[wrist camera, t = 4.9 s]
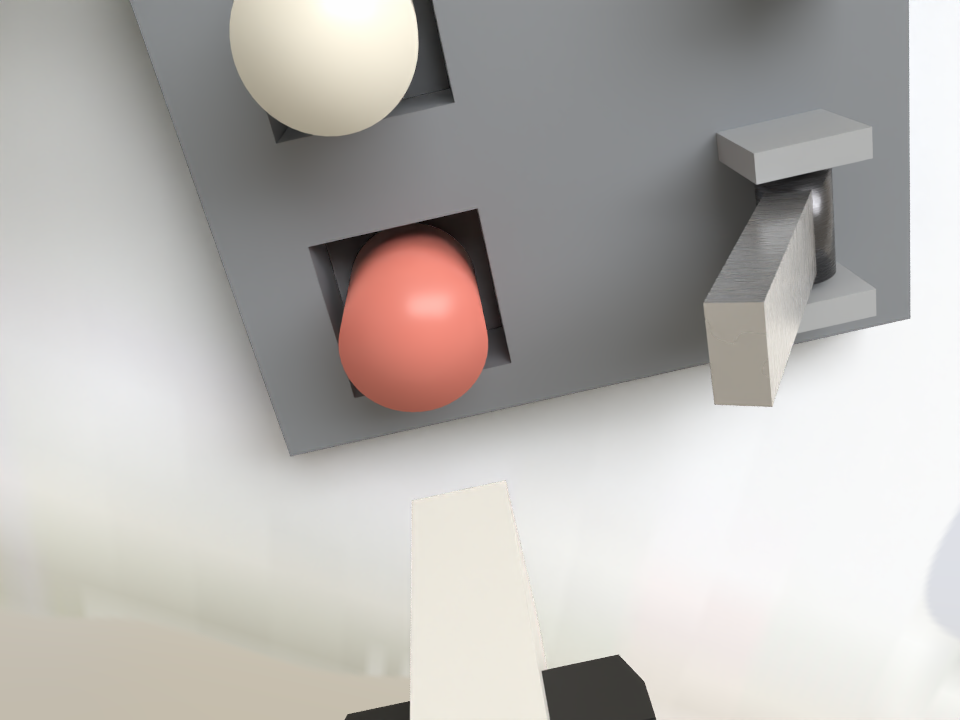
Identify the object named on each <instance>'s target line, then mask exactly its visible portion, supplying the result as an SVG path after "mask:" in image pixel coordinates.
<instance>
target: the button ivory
mask: <svg viewBox="0 0 960 720" xmlns="http://www.w3.org/2000/svg"><path fill="white" fill-rule="evenodd" d="M230 45H231V51H232V55H233V59H234V63H235V66H236V68H237V71H238V74H239V76H240V78H241V80H242V82H243V83H244V85H245V87H246V88H247V90H248V91H249V93H250V94H251V96H252V97H253V98H254V99H255V101H256V102H257V103H258V104H259V105H260V106H261V107H262V108H263V109H264V110H265V111H266V112H267V113H269V114H270V115H271V116H272V117H274V118H275V119H277V120H278V121H280V122H281V123H283V124H285V125H287V126H289V127H291V128H293V129H295V130H298V131H301V132H304V133H308V134H312V135H318V136H342V135H348V134H352V133H356V132H359V131H362V130H364V129H366V128H369V127H371V126H373V125H374V124H376V123H377V122H379V121H380V120H382V119H383V118H384V117H385V116H387V115H388V114H389V113H390V112H391V111H392V110H393V109H394V108H395V107H396V106H397V105H398V103H399V102H400V100H401V99H402V98H403V96H404V95H405V93H406V91H407V89H408V87H409V85H410V83H411V81H412V78H413V75H414V72H415V68H416V63H417V58H418V47H419V45H418V28H417V19H416V13H415V8H414V4H413V1H412V0H234V3H233V6H232V10H231V17H230Z"/></svg>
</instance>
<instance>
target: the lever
mask: <svg viewBox="0 0 960 720" xmlns="http://www.w3.org/2000/svg"><path fill="white" fill-rule="evenodd" d="M754 188H755V200H756V209H755V211H754V212H753V214H752V216H751V218H750V220H749V221H748V223H747V225H746V227H745V229H744V230H743V232H742V234H741V236H740V238H739V239H738V241H737V243H736V245H735V247H734V248H733V250H732V252H731V254H730V256H729V257H728V259H727V261H726V263H725V265H724V267H723V268H722V270H721V272H720V274H719V276H718V277H717V279H716V281H715V283H714V285H713V286H712V288H711V290H710V292H709V294H708V295H707V297H706V299H705V301H704V303H703V306H704V315H705V324H706V332H707V341H708V350H709V359H710V368H711V377H712V386H713V395H714V404H715V405H739V406H765V407H772V406H773V403H774V400H775V397H776V394H777V391H778V388H779V385H780V382H781V379H782V376H783V373H784V370H785V367H786V364H787V361H788V358H789V355H790V352H791V349H792V346H793V343H794V340H795V337H796V334H797V331H798V328H799V325H800V322H801V319H802V316H803V313H804V310H805V307H806V304H807V301H808V298H809V295H810V292H811V289H812V286H813V285H814V284H818V283H821V282H824V281H826V280H828V279H830V278H831V277H833V276H834V275H835V273H836V252H835V229H834V205H833V182H832V168H828V169H823V170H819V171H814V172H810V173H806V174H801V175H797V176H792V177H788V178H784V179H779V180H775V181H770V182H766V183H762V184H757V185H756V184H755V183H754Z"/></svg>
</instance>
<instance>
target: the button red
mask: <svg viewBox="0 0 960 720" xmlns="http://www.w3.org/2000/svg"><path fill="white" fill-rule="evenodd" d="M338 345H339V354H340V359H341V363H342V365H343V368H344V370H345V372H346V374H347V376H348V378H349V379H350V381H351V382H352V383H353V385H354V386H355V387H356V388H357V389H358V390H359V391H360V392H361V393H362V394H363V395H365V396H366V397H367V398H369V399H370V400H372V401H373V402H375V403H377V404H379V405H381V406H384V407H386V408H390V409H393V410H397V411H403V412H423V411H430V410H434V409H437V408H441V407H443V406H445V405H448V404H450V403H451V402H453V401H455V400H457V399H458V398H459V397H461V396H462V395H463V394H465V393H466V392H467V391H468V390H469V389H470V388H471V387H472V385H473V384H474V383H475V382H476V380H477V379H478V377H479V375H480V374H481V372H482V370H483V367H484V365H485V361H486V358H487V352H488V335H487V329H486V324H485V319H484V314H483V310H482V305H481V300H480V295H479V290H478V285H477V281H476V276H475V271H474V267H473V264H472V261H471V259H470V257H469V255H468V254H467V252H466V250H465V249H464V248H463V246H462V245H461V244H460V243H459V242H458V241H457V240H456V239H455V238H454V237H452V236H451V235H449V234H448V233H447V232H445V231H443V230H441V229H439V228H436V227H433V226H430V225H426V224H419V223H412V224H407V225H403V226H398V227H394V228H390V229H385V230H382V231H381V232H379V233H377V234H376V235H374V236H373V237H372V238H371V239H369V240H368V241H367V243H366V244H365V245H364V246H363V247H362V248H361V250H360V251H359V253H358V255H357V257H356V258H355V261H354V264H353V266H352V271H351V276H350V281H349V286H348V291H347V297H346V302H345V307H344V312H343V317H342V322H341V328H340V333H339V344H338Z"/></svg>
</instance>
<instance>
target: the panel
mask: <svg viewBox="0 0 960 720" xmlns="http://www.w3.org/2000/svg"><path fill="white" fill-rule="evenodd" d="M431 2H432V7H433V11H434V16H435V20H436V25H437V30H438V34H439V39H440V43H441V48H442V53H443V57H444V62H445V66H446V71H447V75H448V80H449V85H450V89H446V90H441V91H437V92H433V93H428V94H424V95H420V96H415V97H411V98H407V99H402V100H400V102H399V103H398V105H397V106H396V107H395V108H394V109H393V110H392V111H391V112H390V113H389V114H388V115H387V116H385V117H384V118H383V119H382V120H380V121H379V122H377V123H376V124H374V125H373V126H371V127H369V128H366V129H364V130H362V131H359V132H356V133H352V134H348V135H342V136H318V135H312V134H308V133H304V132H301V131H298V130H295V129H293V128H291V127H289V126H287V125H285V124H283V123H281V122H280V121H278V120H277V119H275V118H274V117H272V116H271V115H270V114H269V113H267V112H266V111H265V110H264V109H263V108H262V107H261V106H260V105H259V104H258V103H257V102H256V101H255V99H254V98H253V97H252V96H251V94H250V93H249V91H248V90H247V88H246V87H245V85H244V83H243V82H242V80H241V78H240V76H239V74H238V71H237V68H236V66H235V63H234V59H233V55H232V51H231V45H230V17H231V10H232V6H233V3H234V0H130V3H131V6H132V9H133V11H134V14H135V17H136V20H137V23H138V26H139V28H140V31H141V34H142V37H143V40H144V43H145V45H146V48H147V51H148V54H149V57H150V60H151V62H152V65H153V68H154V71H155V74H156V77H157V79H158V82H159V85H160V88H161V91H162V94H163V96H164V99H165V102H166V105H167V108H168V111H169V113H170V116H171V119H172V122H173V125H174V128H175V130H176V133H177V136H178V139H179V142H180V145H181V147H182V150H183V153H184V156H185V159H186V162H187V164H188V167H189V170H190V173H191V176H192V179H193V181H194V184H195V187H196V190H197V193H198V196H199V198H200V201H201V204H202V207H203V210H204V213H205V215H206V218H207V221H208V224H209V227H210V230H211V232H212V235H213V238H214V241H215V244H216V247H217V249H218V252H219V255H220V258H221V261H222V264H223V266H224V269H225V272H226V275H227V278H228V281H229V283H230V286H231V289H232V292H233V295H234V298H235V300H236V303H237V306H238V309H239V312H240V315H241V317H242V320H243V323H244V326H245V329H246V332H247V334H248V337H249V340H250V343H251V346H252V349H253V351H254V354H255V357H256V360H257V363H258V366H259V368H260V371H261V374H262V377H263V380H264V383H265V385H266V388H267V391H268V394H269V397H270V400H271V402H272V405H273V408H274V411H275V414H276V417H277V419H278V422H279V425H280V428H281V431H282V434H283V436H284V439H285V442H286V445H287V448H288V451H289V453H290V456H294V455H298V454H303V453H307V452H312V451H316V450H321V449H325V448H330V447H334V446H339V445H343V444H348V443H352V442H357V441H361V440H366V439H370V438H375V437H379V436H384V435H388V434H393V433H397V432H402V431H406V430H411V429H415V428H420V427H424V426H429V425H433V424H438V423H442V422H447V421H451V420H456V419H460V418H465V417H469V416H474V415H478V414H483V413H487V412H492V411H496V410H501V409H505V408H510V407H514V406H519V405H523V404H528V403H532V402H537V401H541V400H546V399H550V398H555V397H559V396H564V395H568V394H573V393H577V392H582V391H586V390H591V389H595V388H600V387H604V386H609V385H613V384H618V383H622V382H627V381H631V380H636V379H640V378H645V377H649V376H654V375H658V374H663V373H667V372H672V371H676V370H681V369H685V368H690V367H694V366H699V365H703V364H708V363H710V359H709V350H708V341H707V332H706V324H705V315H704V306H703V303H704V301H705V299H706V297H707V295H708V294H709V292H710V290H711V288H712V286H713V285H714V283H715V281H716V279H717V277H718V276H719V274H720V272H721V270H722V268H723V267H724V265H725V263H726V261H727V259H728V257H729V256H730V254H731V252H732V250H733V248H734V247H735V245H736V243H737V241H738V239H739V238H740V236H741V234H742V232H743V230H744V229H745V227H746V225H747V223H748V221H749V220H750V218H751V216H752V214H753V212H754V211H755V209H756V200H755V188H754V183H755V184H756V185H757V184H762V183H766V182H770V181H775V180H779V179H784V178H788V177H792V176H797V175H801V174H806V173H810V172H814V171H819V170H823V169H828V168H832V182H833V205H834V229H835V252H836V273H835V275H834V276H833V277H831V278H830V279H828V280H826V281H824V282H821V283H818V284H814V285H813V286H812V289H811V292H810V295H809V298H808V301H807V304H806V307H805V310H804V313H803V316H802V319H801V322H800V325H799V328H798V331H797V334H796V337H795V340H794V343H793V344H798V343H802V342H807V341H811V340H816V339H820V338H824V337H829V336H833V335H838V334H842V333H847V332H851V331H856V330H860V329H865V328H869V327H874V326H878V325H883V324H887V323H892V322H896V321H901V320H905V319H910V162H909V0H431ZM473 209H477V213H478V217H479V222H480V227H481V231H482V236H483V240H484V245H485V249H486V254H487V259H488V263H489V268H490V272H491V277H492V281H493V286H494V291H495V295H496V300H497V304H498V309H499V314H500V318H501V323H502V327H499V328H495V329H490V330H487V335H488V352H487V358H486V361H485V365H484V367H483V370H482V372H481V374H480V375H479V377H478V379H477V380H476V382H475V383H474V384H473V385H472V387H471V388H470V389H469V390H468V391H467V392H466V393H465V394H463V395H462V396H461V397H459V398H458V399H457V400H455V401H453V402H451V403H450V404H448V405H445V406H443V407H441V408H437V409H434V410H430V411H423V412H403V411H397V410H393V409H390V408H386V407H384V406H381V405H379V404H377V403H375V402H373V401H372V400H370V399H369V398H367V397H366V396H365V395H363V394H362V393H361V392H360V391H359V390H358V389H357V388H356V387H355V386H354V385H353V383H352V382H351V381H350V379H349V378H348V376H347V374H346V372H345V370H344V368H343V365H342V363H341V359H340V354H339V345H338V344H339V333H340V328H341V322H342V317H343V312H344V305H343V302H342V299H341V295H340V292H339V288H338V285H337V282H336V278H335V275H334V272H333V268H332V265H331V262H330V258H329V255H328V252H327V248H326V245H325V243H328V242H332V241H337V240H341V239H346V238H350V237H354V236H359V235H363V234H368V233H372V232H376V231H381V230H385V229H390V228H394V227H398V226H403V225H407V224H412V223H416V222H420V221H425V220H429V219H434V218H438V217H442V216H447V215H451V214H455V213H460V212H464V211H469V210H473Z"/></svg>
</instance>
